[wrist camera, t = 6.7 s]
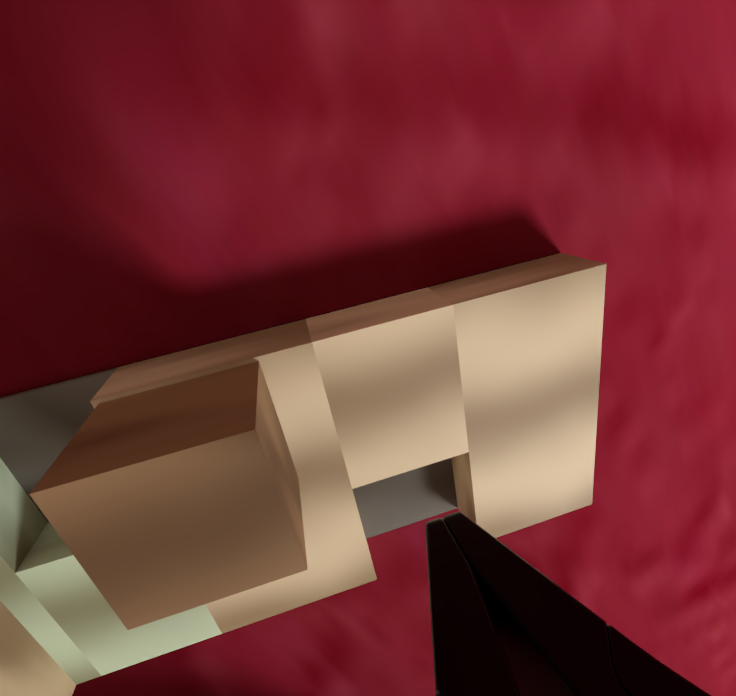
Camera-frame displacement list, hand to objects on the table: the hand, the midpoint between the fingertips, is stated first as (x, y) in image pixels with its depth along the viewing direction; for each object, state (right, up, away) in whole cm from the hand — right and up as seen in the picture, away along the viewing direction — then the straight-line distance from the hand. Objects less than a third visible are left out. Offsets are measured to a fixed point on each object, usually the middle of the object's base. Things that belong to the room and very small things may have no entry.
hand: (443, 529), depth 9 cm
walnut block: (-7, +1, +5) cm, 9 cm away
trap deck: (-4, -1, +9) cm, 10 cm away
